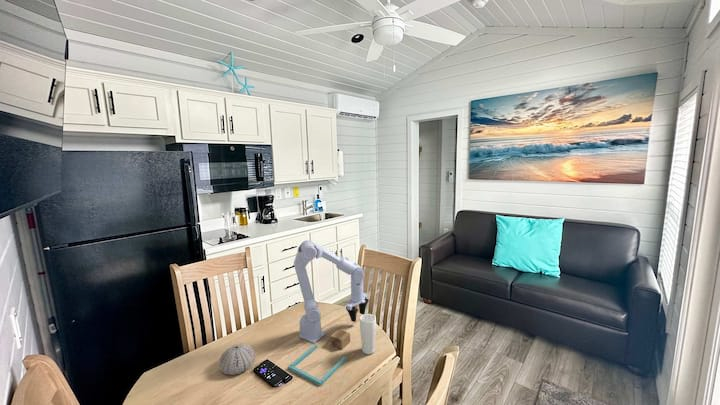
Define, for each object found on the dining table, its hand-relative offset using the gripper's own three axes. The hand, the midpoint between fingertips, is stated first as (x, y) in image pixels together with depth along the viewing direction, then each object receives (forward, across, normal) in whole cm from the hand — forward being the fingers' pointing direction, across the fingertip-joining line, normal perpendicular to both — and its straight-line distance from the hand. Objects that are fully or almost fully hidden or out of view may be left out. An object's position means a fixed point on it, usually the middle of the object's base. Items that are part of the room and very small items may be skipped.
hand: (357, 317), depth 139 cm
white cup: (+6, -12, -13) cm, 19 cm away
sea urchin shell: (+5, -46, +27) cm, 54 cm away
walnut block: (+5, -14, 0) cm, 15 cm away
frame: (+5, -29, 0) cm, 30 cm away
